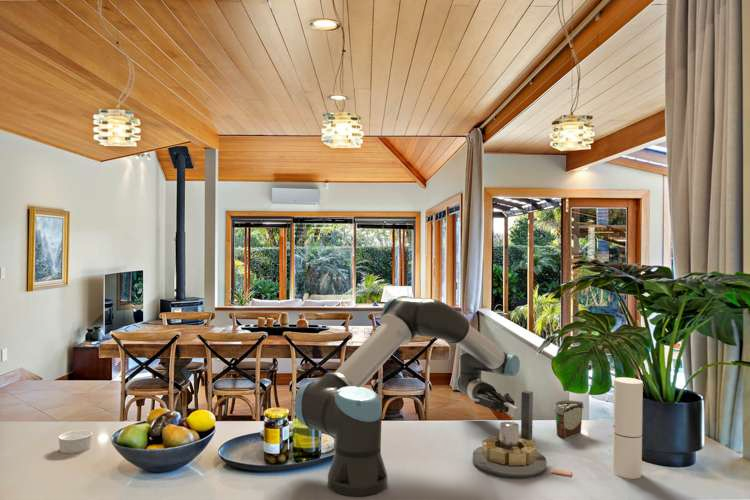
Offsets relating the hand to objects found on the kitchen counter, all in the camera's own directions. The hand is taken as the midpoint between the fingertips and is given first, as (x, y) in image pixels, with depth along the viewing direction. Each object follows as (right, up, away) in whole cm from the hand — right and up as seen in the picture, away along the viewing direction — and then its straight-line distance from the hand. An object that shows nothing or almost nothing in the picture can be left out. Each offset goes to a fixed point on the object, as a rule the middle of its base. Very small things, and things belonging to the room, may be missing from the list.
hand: (515, 412), depth 171 cm
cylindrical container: (+25, -11, -20) cm, 34 cm away
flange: (-6, -10, -15) cm, 19 cm away
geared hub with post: (-4, -8, -13) cm, 15 cm away
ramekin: (-131, -9, -7) cm, 131 cm away
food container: (+19, -10, +11) cm, 24 cm away
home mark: (+7, -10, -21) cm, 24 cm away
